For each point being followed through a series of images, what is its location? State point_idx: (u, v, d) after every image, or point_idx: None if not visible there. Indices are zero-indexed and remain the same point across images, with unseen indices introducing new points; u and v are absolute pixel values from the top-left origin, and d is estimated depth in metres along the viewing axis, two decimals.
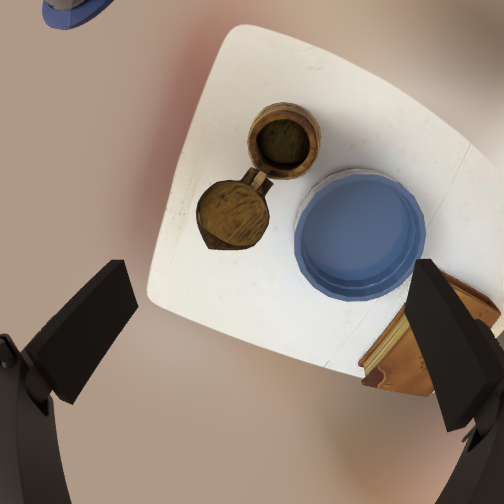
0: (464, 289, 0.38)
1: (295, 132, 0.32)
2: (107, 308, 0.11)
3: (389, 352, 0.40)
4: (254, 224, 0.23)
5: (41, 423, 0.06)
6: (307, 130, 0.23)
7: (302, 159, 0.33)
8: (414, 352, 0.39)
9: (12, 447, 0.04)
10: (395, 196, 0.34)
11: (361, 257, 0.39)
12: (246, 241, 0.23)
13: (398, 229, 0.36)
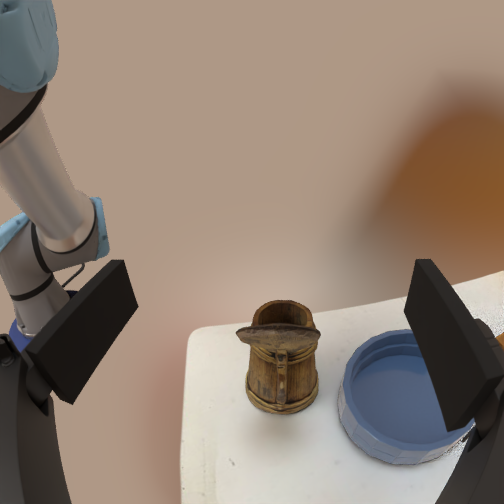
0: None
1: None
2: (107, 308, 0.11)
3: None
4: None
5: (41, 423, 0.06)
6: (292, 303, 0.29)
7: None
8: None
9: (13, 447, 0.04)
10: (400, 356, 0.32)
11: (434, 411, 0.23)
12: None
13: None
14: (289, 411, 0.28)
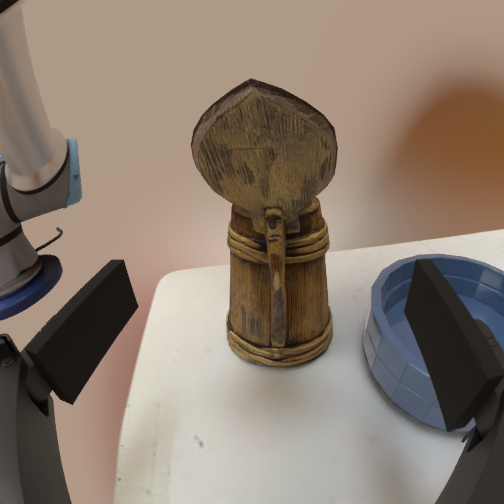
0: None
1: None
2: (107, 308, 0.11)
3: None
4: None
5: (41, 423, 0.06)
6: None
7: None
8: None
9: (12, 447, 0.04)
10: None
11: None
12: None
13: (474, 307, 0.21)
14: (291, 361, 0.19)
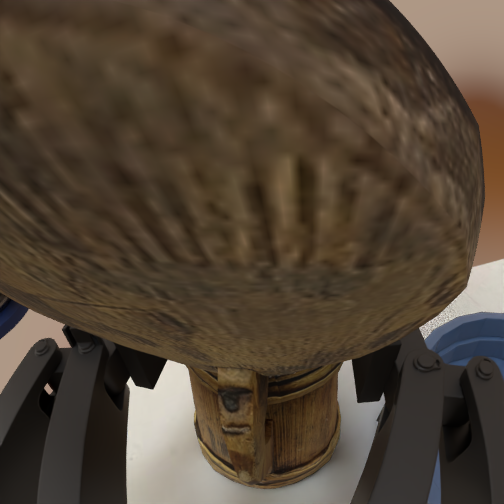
0: None
1: None
2: None
3: None
4: None
5: (113, 420, 0.06)
6: None
7: None
8: None
9: (76, 450, 0.04)
10: None
11: None
12: None
13: None
14: (281, 484, 0.11)
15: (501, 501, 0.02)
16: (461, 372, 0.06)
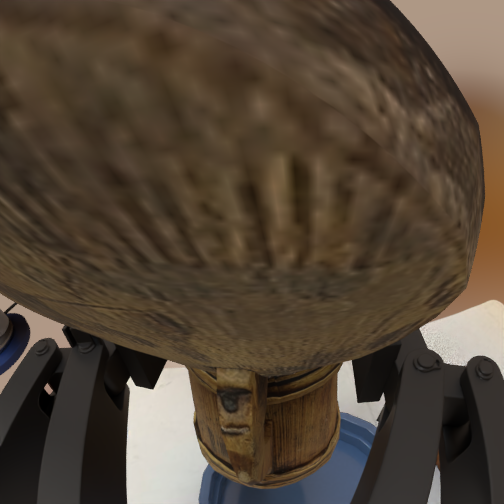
0: None
1: None
2: None
3: None
4: None
5: (113, 420, 0.06)
6: None
7: None
8: None
9: (76, 450, 0.04)
10: None
11: None
12: None
13: (348, 459, 0.21)
14: (280, 484, 0.11)
15: (501, 501, 0.02)
16: (461, 372, 0.06)
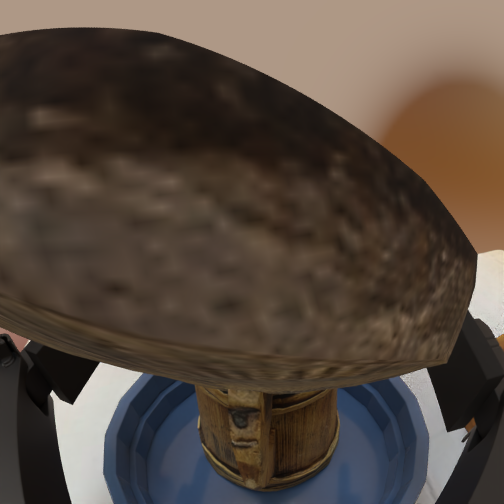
0: None
1: None
2: None
3: None
4: None
5: (41, 423, 0.06)
6: None
7: None
8: None
9: (13, 447, 0.04)
10: None
11: (315, 493, 0.11)
12: None
13: None
14: (281, 487, 0.11)
15: None
16: None
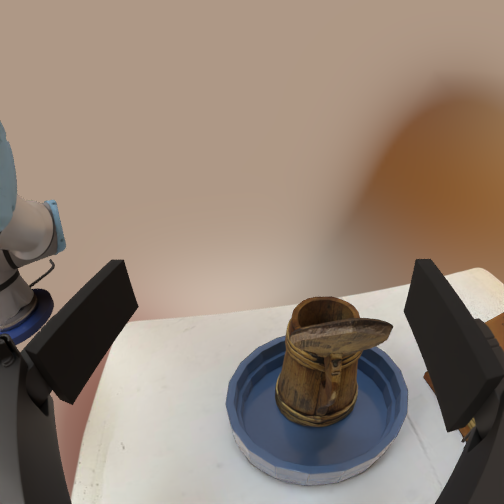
0: None
1: None
2: (107, 308, 0.11)
3: None
4: None
5: (41, 423, 0.06)
6: (333, 299, 0.25)
7: None
8: None
9: (12, 447, 0.04)
10: None
11: (347, 427, 0.23)
12: None
13: None
14: (329, 423, 0.23)
15: None
16: None
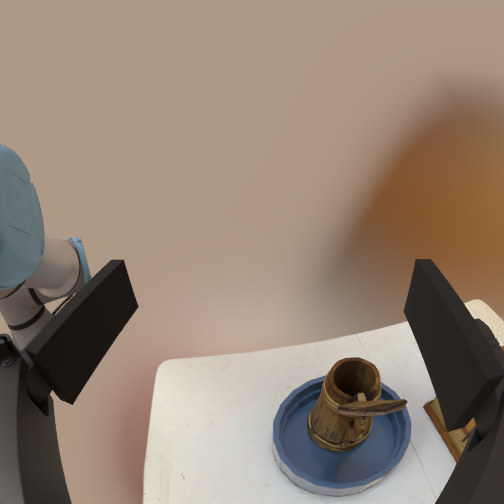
0: None
1: None
2: (107, 308, 0.11)
3: None
4: (391, 401, 0.20)
5: (41, 423, 0.06)
6: (359, 360, 0.29)
7: None
8: None
9: (12, 447, 0.04)
10: None
11: (363, 450, 0.27)
12: (400, 401, 0.18)
13: None
14: (350, 448, 0.27)
15: None
16: None
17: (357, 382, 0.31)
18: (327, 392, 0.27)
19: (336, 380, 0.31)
